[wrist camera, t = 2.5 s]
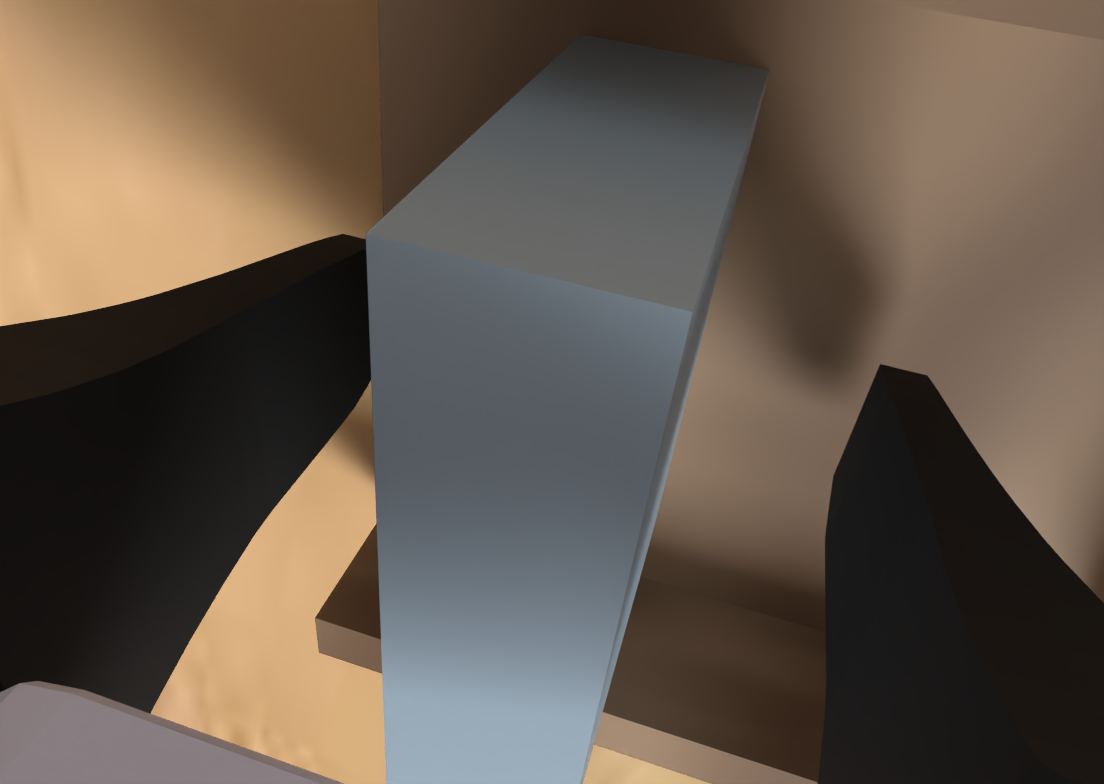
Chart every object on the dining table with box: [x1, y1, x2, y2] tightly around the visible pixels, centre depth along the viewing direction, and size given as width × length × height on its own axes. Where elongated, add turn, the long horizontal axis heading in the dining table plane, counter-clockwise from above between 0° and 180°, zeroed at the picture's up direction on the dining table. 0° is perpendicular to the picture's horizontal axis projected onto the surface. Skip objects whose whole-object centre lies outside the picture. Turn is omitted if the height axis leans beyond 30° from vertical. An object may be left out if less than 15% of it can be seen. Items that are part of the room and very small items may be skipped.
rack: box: [315, 0, 1104, 784], centre depth 11 cm, size 18×13×4 cm
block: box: [366, 34, 770, 784], centre depth 11 cm, size 2×8×6 cm, turn 173°
